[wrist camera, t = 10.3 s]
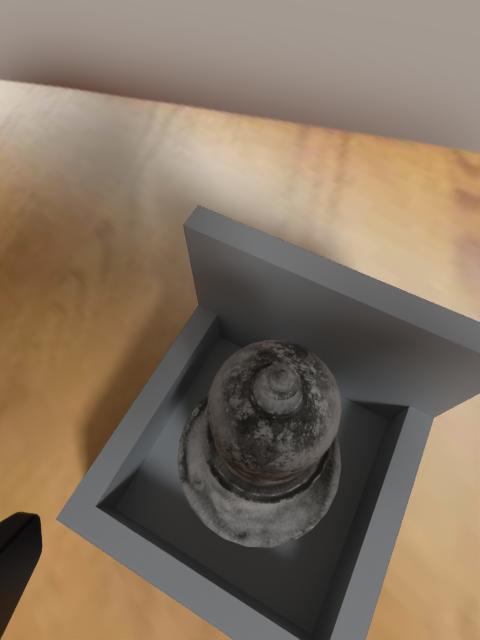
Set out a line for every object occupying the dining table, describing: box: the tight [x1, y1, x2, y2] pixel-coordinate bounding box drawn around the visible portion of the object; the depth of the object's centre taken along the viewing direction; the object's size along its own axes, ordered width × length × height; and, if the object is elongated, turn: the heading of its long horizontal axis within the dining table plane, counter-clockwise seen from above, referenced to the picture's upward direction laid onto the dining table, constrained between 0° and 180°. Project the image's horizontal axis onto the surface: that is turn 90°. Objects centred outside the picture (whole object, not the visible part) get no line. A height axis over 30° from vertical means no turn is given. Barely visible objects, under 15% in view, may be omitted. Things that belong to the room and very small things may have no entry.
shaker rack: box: [56, 206, 480, 640], centre depth 14 cm, size 11×11×9 cm
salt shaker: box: [177, 340, 341, 547], centre depth 12 cm, size 6×6×12 cm
